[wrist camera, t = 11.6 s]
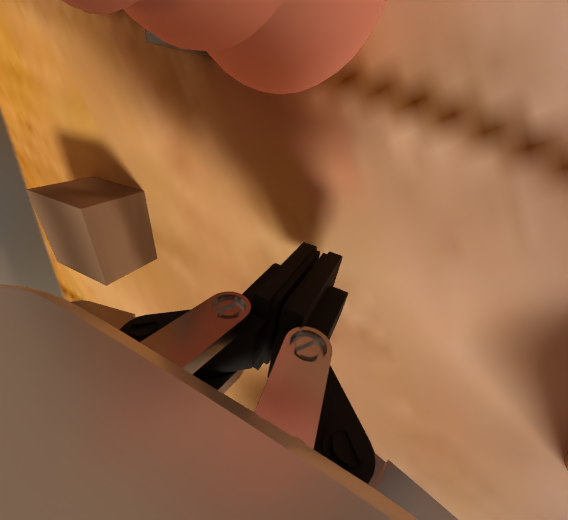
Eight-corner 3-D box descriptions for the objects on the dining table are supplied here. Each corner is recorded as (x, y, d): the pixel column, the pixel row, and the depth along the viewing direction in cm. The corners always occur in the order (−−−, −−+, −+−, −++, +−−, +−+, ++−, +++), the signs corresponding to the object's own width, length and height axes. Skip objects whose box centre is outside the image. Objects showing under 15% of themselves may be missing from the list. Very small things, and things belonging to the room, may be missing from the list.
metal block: (145, 190, 17) (80, 209, 14) (158, 257, 20) (106, 285, 16) (94, 176, 19) (26, 189, 15) (112, 239, 21) (57, 261, 18)
